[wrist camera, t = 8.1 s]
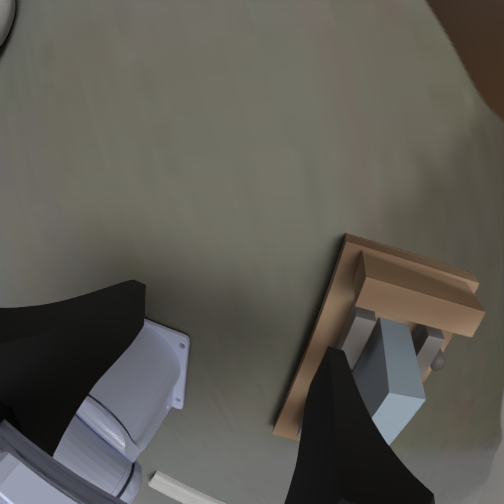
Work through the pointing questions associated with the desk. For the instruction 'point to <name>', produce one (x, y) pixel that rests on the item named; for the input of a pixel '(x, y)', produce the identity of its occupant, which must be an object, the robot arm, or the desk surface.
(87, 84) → the desk surface
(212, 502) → the molding
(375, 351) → the rectangular block
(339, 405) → the robot arm
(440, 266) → the knife switch board
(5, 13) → the teacup
